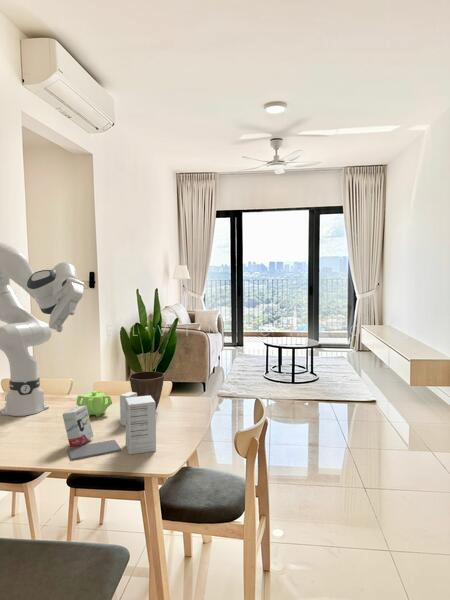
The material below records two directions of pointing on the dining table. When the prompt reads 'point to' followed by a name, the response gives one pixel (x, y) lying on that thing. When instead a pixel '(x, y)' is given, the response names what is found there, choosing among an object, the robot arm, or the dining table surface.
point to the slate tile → (93, 449)
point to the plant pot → (147, 384)
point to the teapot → (95, 402)
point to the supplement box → (140, 424)
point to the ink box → (77, 425)
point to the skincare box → (122, 405)
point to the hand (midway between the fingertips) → (65, 322)
